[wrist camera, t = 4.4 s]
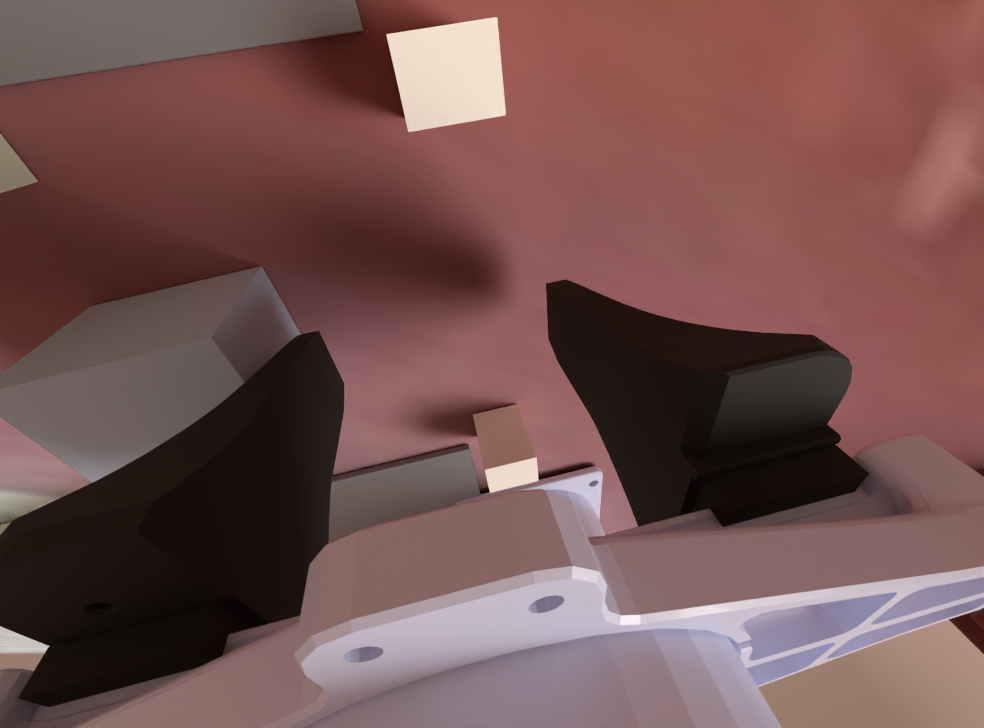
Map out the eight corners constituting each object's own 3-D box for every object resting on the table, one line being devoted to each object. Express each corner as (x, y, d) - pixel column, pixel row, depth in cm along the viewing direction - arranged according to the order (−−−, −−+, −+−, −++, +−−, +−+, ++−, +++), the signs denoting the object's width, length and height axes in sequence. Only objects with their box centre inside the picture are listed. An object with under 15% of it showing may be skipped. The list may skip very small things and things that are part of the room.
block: (331, 388, 15) (314, 475, 11) (198, 422, 14) (143, 520, 11) (261, 265, 12) (211, 337, 8) (90, 306, 11) (-28, 395, 8)
